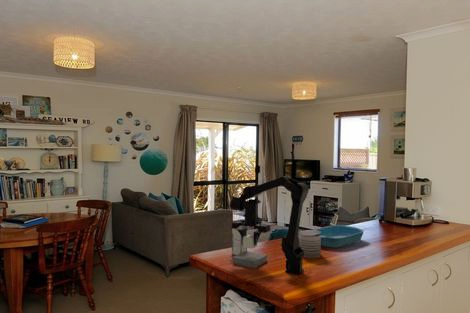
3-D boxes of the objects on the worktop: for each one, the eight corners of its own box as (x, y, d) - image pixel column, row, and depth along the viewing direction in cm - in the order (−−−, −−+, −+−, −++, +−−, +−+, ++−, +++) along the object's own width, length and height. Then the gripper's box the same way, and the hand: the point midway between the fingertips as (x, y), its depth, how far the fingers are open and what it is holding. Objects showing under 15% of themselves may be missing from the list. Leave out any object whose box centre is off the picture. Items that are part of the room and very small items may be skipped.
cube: (257, 246, 171) (257, 235, 171) (252, 248, 167) (252, 238, 167) (248, 244, 174) (248, 234, 174) (243, 247, 169) (243, 236, 169)
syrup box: (238, 251, 188) (238, 224, 188) (247, 254, 184) (247, 226, 184) (231, 254, 184) (231, 226, 183) (240, 256, 180) (240, 227, 180)
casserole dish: (334, 252, 191) (334, 238, 191) (301, 243, 208) (301, 231, 208) (370, 241, 214) (370, 229, 214) (338, 234, 232) (338, 223, 231)
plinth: (266, 261, 173) (266, 254, 173) (255, 267, 162) (255, 261, 162) (245, 257, 179) (245, 251, 179) (232, 263, 168) (232, 257, 168)
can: (319, 259, 177) (319, 235, 177) (296, 256, 181) (296, 233, 181) (321, 252, 188) (322, 230, 188) (300, 250, 192) (300, 228, 192)
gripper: (275, 211, 172) (275, 243, 172) (242, 208, 182) (241, 238, 182) (265, 215, 163) (265, 248, 163) (230, 211, 172) (230, 243, 172)
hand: (250, 244), depth 170 cm, fingers closed on cube, 5 cm apart
